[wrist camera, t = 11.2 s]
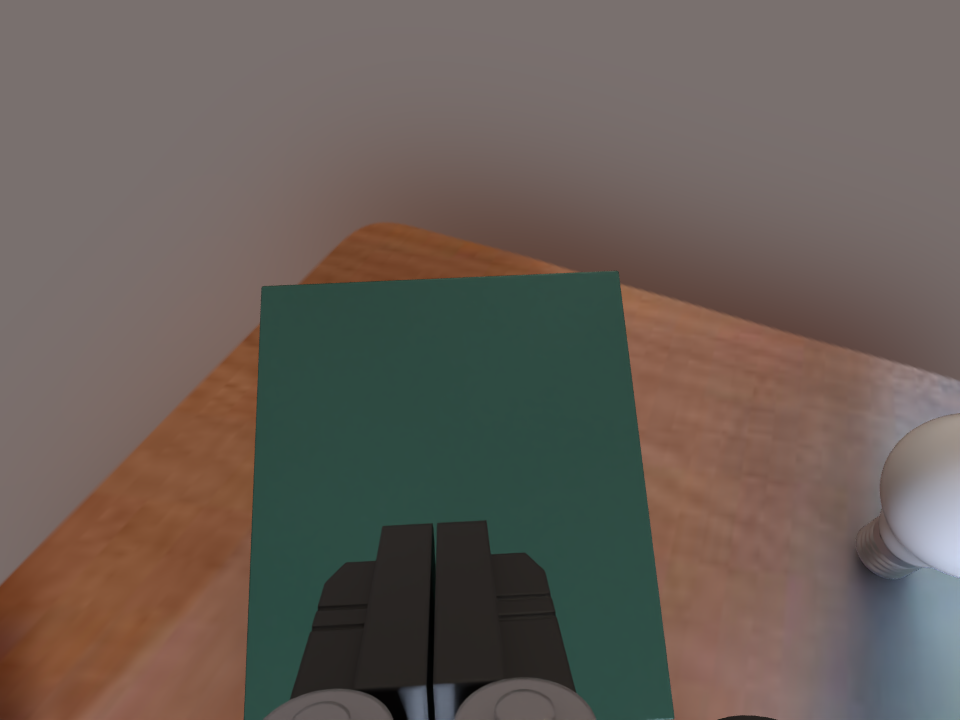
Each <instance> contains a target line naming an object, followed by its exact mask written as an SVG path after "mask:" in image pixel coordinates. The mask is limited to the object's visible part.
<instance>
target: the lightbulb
mask: <svg viewBox="0 0 960 720" xmlns="http://www.w3.org/2000/svg"><path fill="white" fill-rule="evenodd" d="M880 499H881V505H882V509H881V512H880V515H879V516H878V517H877V518H876V519H874V520H873V521H871V522H870V523H868V524H867V525H866V526H864V527H863V528H862V529H861V530H860V531H859V533H858V535H857V537H856V550H857V553H858V556H859V558H860V559H861V561H862V562H863V564H864V565H865V566H866V567H867V568H868V569H869V570H870V571H871V572H873V573H874V574H876V575H878V576H880V577H883V578H886V579H900V578H903V577H905V576H908V575H909V574H911V573H913V572H915V571H917V570H919V569H921V568H934V569H936V570H938V571H940V572H942V573H945V574H947V575H950V576H953V577H957V578H960V413H959V414H951V415H946V416H942V417H939V418H936V419H933V420H930V421H928V422H926V423H923V424H921V425H920V426H918V427H916V428H915V429H913V430H911V431H910V432H909V433H907V434H906V435H905V436H904V437H903V438H902V439H901V440H900V441H899V442H898V443H897V444H896V445H895V447H894V448H893V449H892V451H891V452H890V454H889V456H888V458H887V460H886V462H885V464H884V467H883V470H882V474H881V480H880Z"/></svg>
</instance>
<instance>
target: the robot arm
mask: <svg viewBox="0 0 960 720" xmlns="http://www.w3.org/2000/svg"><path fill="white" fill-rule="evenodd" d="M263 720H596V717H595V715H594V713H593V711H592V709H591V708H590V706H589V705H588V704H587V703H586V701H585V700H584V699H583V698H582V697H580V696H579V695H578V694H577V693H576V690H575V686H574V682H573V678H572V674H571V670H570V666H569V662H568V659H567V655H566V651H565V647H564V643H563V639H562V635H561V631H560V627H559V624H558V620H557V617H556V612H555V608H554V604H553V600H552V598H551V592H550V589H549V585H548V581H547V577H546V573H545V570H544V569H543V568H542V567H540V566H539V565H538V564H537V563H536V562H535V561H534V560H533V559H532V558H531V557H530V556H529V555H528V554H526V553H525V552H524V553H506V554H491V551H490V543H489V535H488V527H487V520H481V521H462V522H443V523H437V542H436V561H435V543H434V528H433V523H428V524H409V525H390V526H383V527H382V530H381V536H380V541H379V547H378V552H377V558H376V561H363V562H346V563H345V564H344V565H343V566H341V567H340V568H339V569H338V570H337V571H336V572H335V573H334V574H333V575H332V576H331V577H330V578H329V579H328V580H327V581H326V582H325V584H324V587H323V590H322V594H321V597H320V600H319V604H318V611H316V614H315V617H314V620H313V624H312V632H310V634H309V637H308V640H307V644H306V647H305V650H304V654H303V657H302V660H301V664H300V667H299V670H298V674H297V677H296V680H295V684H294V687H293V690H292V694H291V697H290V700H289V701H288V702H286V703H284V704H282V705H280V706H279V707H277V708H276V709H275V710H273V711H272V712H270V713H269V714H268V715H267V716H266V717H265V718H264V719H263ZM718 720H776V719H772V718H767V717H760V716H745V715H741V716H731V717H726V718H722V719H718Z"/></svg>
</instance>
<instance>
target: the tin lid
mask: <svg viewBox="0 0 960 720" xmlns="http://www.w3.org/2000/svg"><path fill="white" fill-rule="evenodd" d="M481 520H487V527H488V535H489V543H490V551H491V554H506V553H524V552H525V553H526V554H528V555H529V556H530V557H531V558H532V559H533V560H534V561H535V562H536V563H537V564H538V565H539V566H540V567H542V568H543V569H544V570H545V573H546V577H547V581H548V585H549V589H550V592H551V598H552V600H553V604H554V608H555V612H556V617H557V620H558V624H559V627H560V631H561V635H562V639H563V643H564V647H565V651H566V655H567V659H568V662H569V666H570V670H571V674H572V678H573V682H574V686H575V690H576V693H577V694H578V695H579V696H580V697H582V698H583V699H584V700H585V701H586V703H587V704H588V705H589V706H590V708H591V709H592V711H593V713H594V715H595V717H596V720H672V719H674V710H673V702H672V694H671V687H670V679H669V671H668V663H667V655H666V647H665V639H664V631H663V623H662V615H661V607H660V599H659V591H658V583H657V575H656V567H655V559H654V551H653V543H652V535H651V527H650V519H649V511H648V503H647V495H646V487H645V479H644V471H643V463H642V455H641V447H640V439H639V431H638V423H637V415H636V407H635V399H634V391H633V383H632V375H631V367H630V359H629V351H628V343H627V335H626V328H625V320H624V312H623V304H622V296H621V288H620V280H619V272H618V271H602V272H578V273H555V274H532V275H509V276H486V277H463V278H440V279H417V280H395V281H372V282H349V283H326V284H303V285H280V286H263V287H262V291H261V315H260V339H259V363H258V388H257V412H256V436H255V461H254V485H253V510H252V534H251V558H250V583H249V607H248V632H247V656H246V681H245V705H244V720H263V719H264V718H265V717H266V716H267V715H268V714H269V713H270V712H272V711H273V710H275V709H276V708H277V707H279V706H280V705H282V704H284V703H286V702H288V701H289V700H290V697H291V694H292V690H293V687H294V684H295V680H296V677H297V674H298V670H299V667H300V664H301V660H302V657H303V654H304V650H305V647H306V644H307V640H308V637H309V634H310V632H312V624H313V620H314V617H315V614H316V611H318V604H319V600H320V597H321V594H322V590H323V587H324V584H325V582H326V581H327V580H328V579H329V578H330V577H331V576H332V575H333V574H334V573H335V572H336V571H337V570H338V569H339V568H340V567H341V566H343V565H344V564H345V563H346V562H363V561H376V558H377V552H378V547H379V541H380V536H381V530H382V527H383V526H390V525H409V524H428V523H433V528H434V543H435V561H436V542H437V523H443V522H462V521H481Z"/></svg>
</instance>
